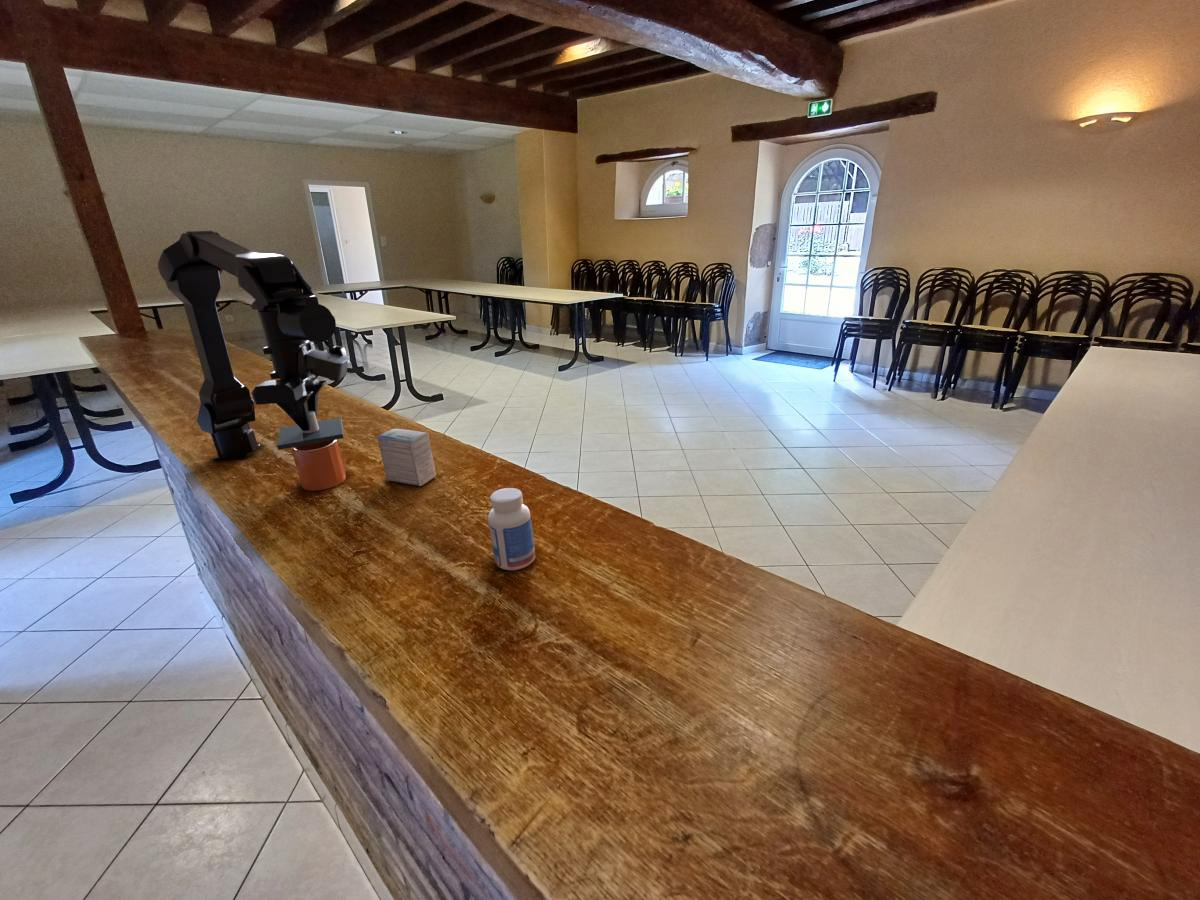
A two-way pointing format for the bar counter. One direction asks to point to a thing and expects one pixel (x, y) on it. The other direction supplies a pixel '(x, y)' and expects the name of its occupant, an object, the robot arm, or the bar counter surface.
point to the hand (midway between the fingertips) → (309, 427)
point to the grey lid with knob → (310, 433)
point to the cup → (319, 465)
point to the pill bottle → (511, 530)
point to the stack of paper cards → (407, 456)
